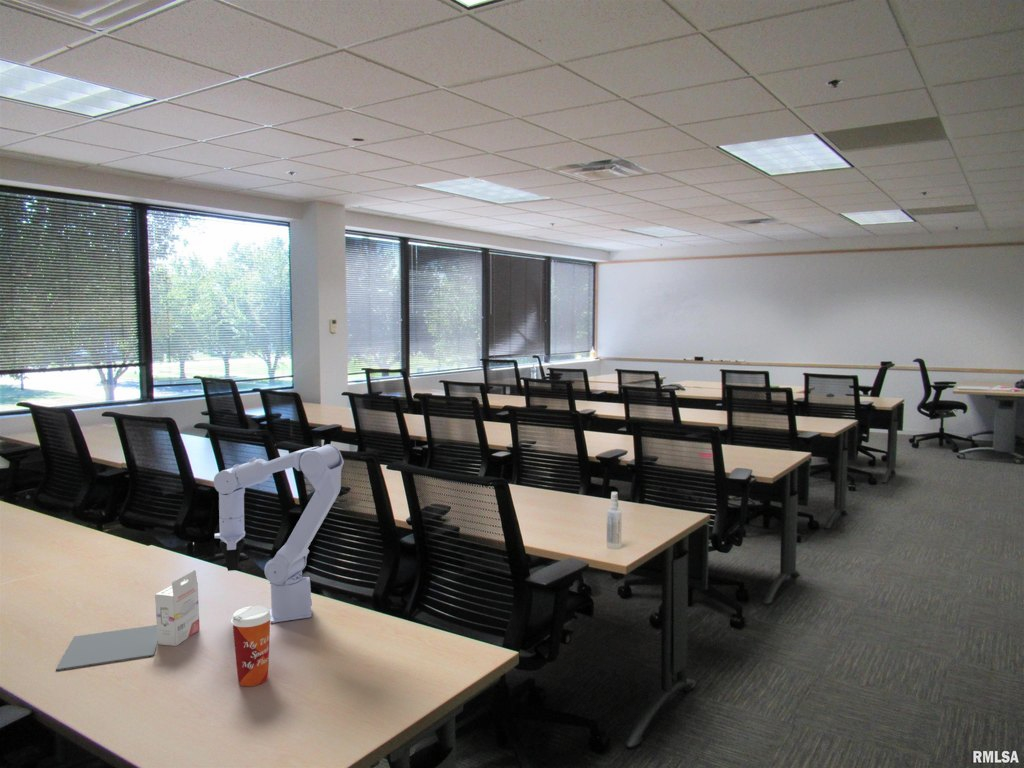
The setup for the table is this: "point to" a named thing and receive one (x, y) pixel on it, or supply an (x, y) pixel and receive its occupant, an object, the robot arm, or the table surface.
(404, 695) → the table surface
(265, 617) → the paper cup
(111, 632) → the mat
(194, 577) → the ink cartridge box
